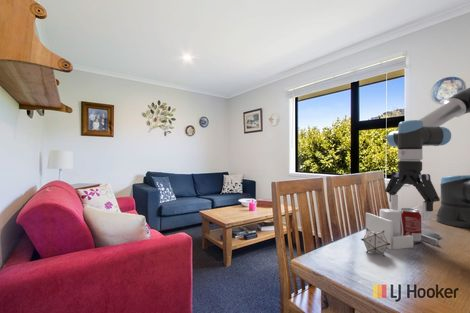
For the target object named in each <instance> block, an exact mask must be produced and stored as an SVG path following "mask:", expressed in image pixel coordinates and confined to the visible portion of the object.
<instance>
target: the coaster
mask: <svg viewBox="0 0 470 313" xmlns="http://www.w3.org/2000/svg"><path fill="white" fill-rule="evenodd" d="M421 234H423V235H426V236H429V237H432V238H435V239H437V240H439V239H441V236H440V235H439V234H438V233H436V232H432V231H430V230H429V231H428V230H422V229H421Z"/></svg>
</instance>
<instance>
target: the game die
mask: <svg viewBox="0 0 470 313" xmlns="http://www.w3.org/2000/svg"><path fill="white" fill-rule="evenodd" d="M366 229H367V228H366V227H365V230H366ZM383 232H384V231H382V232H378V231H371V230H368V229H367V232H366V231H365V235H364V236H363V238H360V240H361V241H363V243H364V245H365V246H364V247H365V248H366V251H365V254H368V253H369V252H370V253H374V254H379V255H382V257H386V255H385V251H386V250H387V248H386V247H387V245H390V243H388V242H387V240H386V238H385V236H384V234H383Z"/></svg>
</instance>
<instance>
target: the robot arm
mask: <svg viewBox="0 0 470 313" xmlns="http://www.w3.org/2000/svg"><path fill="white" fill-rule="evenodd" d="M468 113H470V87H468V88H465V89H463V90H461V91H459V92H457V93H456V94H454V95H452V96H451V97H448V98H447V99H445V100H444V101H443V102H442V104H441V105H440V106H439V107H436V108H435V109H433V110H432V111H430V112H428V113H426V114H425V115H423V116H421V117H419V118H418V119H411V120H404V121H400V122H399V123H398V128H397V130H394V131H391V132H389V133H388V134H387V137H386V142H387V144H388V145H389V146H390V147H394V148H395V147H396V148H397V159H398V161H397V170H398V171H392V172H391V177H390V179H389V181H388V183H387V185H386V188H385V190H384V192H385V193H388V194H389V203H390V209H393V210H397V211H399V206H398V205H399V204H398V203H399V195H398V192H400V190H401V189H402V188H403V187H404V185H410V186H413V187H414V188H415V189H416V190H417V191H418V193H419V194H420V196H421V197H422V199H423V200H424V201H422V221H431V220H432V212H433V211H434V203H435V202H440V207H439V209H438V211H437V213H436V217H435V219H436V221H437V222H439V223H440V224H443V225H447V226H452V227H458V228H465V229H466V228H467V229H470V175H469V174H468V175H466V174H465V175H443V176H442V177H441V178H440V197H439V195H438V193H437V190H436V189H435V186H434V184H433V183H432V178H431V174H429V173H423V174H422V171H423V162H422V160H423V147H430V146H432V147H433V146H434V147H439V146H445V145H447V144H449V142H450V141H451V140H452V132H451V130H450V129H449V128H447V127H444V126H442V125H444V124H446V123H447V122H449V121H450V120H453V119H454V118H459V117H460V118H461V117H462V116H464V115H466V114H468Z"/></svg>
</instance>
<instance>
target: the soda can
mask: <svg viewBox="0 0 470 313" xmlns="http://www.w3.org/2000/svg"><path fill="white" fill-rule="evenodd" d="M400 212H401V236H406V235H411V236H413V244H415V243H416V244H417V243H420V242H422V240H421V230H422V215H421V213H420V210H419V209H416V208H409V207H403V208H401V209H400Z"/></svg>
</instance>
